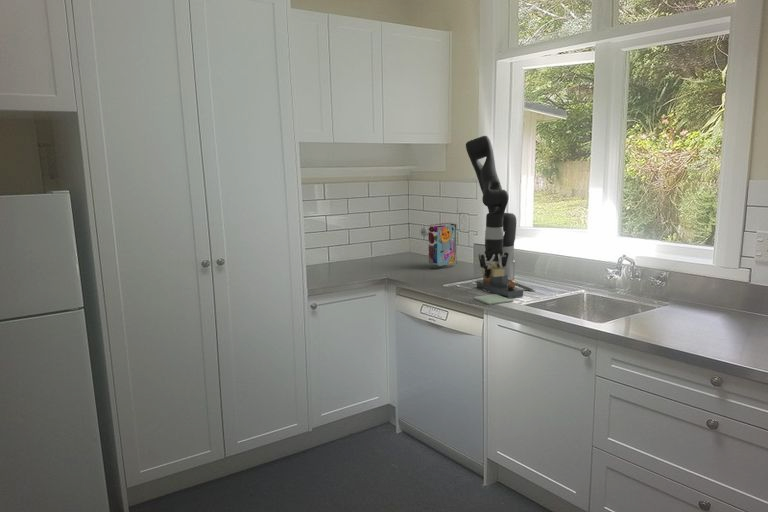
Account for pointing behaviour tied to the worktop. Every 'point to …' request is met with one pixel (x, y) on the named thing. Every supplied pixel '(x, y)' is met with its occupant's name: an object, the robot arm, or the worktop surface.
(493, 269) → the lever cap
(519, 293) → the hand plane
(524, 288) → the caliper
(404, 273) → the worktop surface
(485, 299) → the mat
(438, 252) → the box
